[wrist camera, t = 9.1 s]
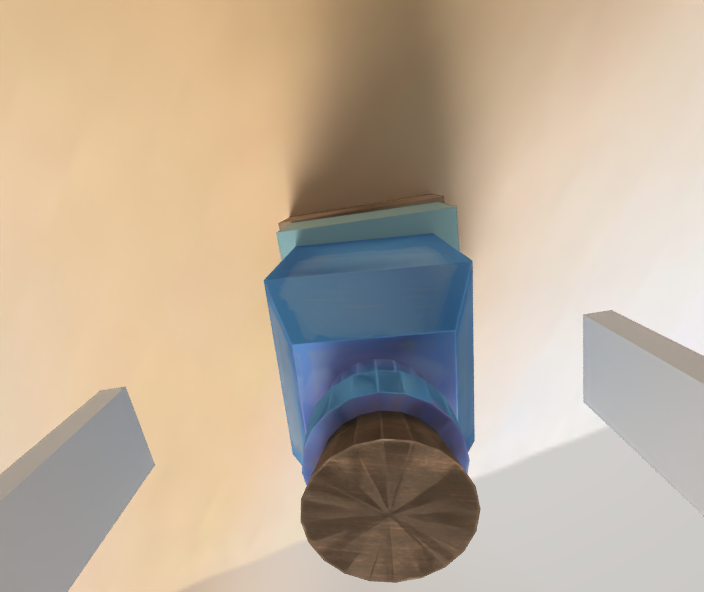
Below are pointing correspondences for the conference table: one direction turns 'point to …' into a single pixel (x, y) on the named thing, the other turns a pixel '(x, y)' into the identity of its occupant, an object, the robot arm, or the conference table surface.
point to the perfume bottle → (379, 400)
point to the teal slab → (373, 226)
